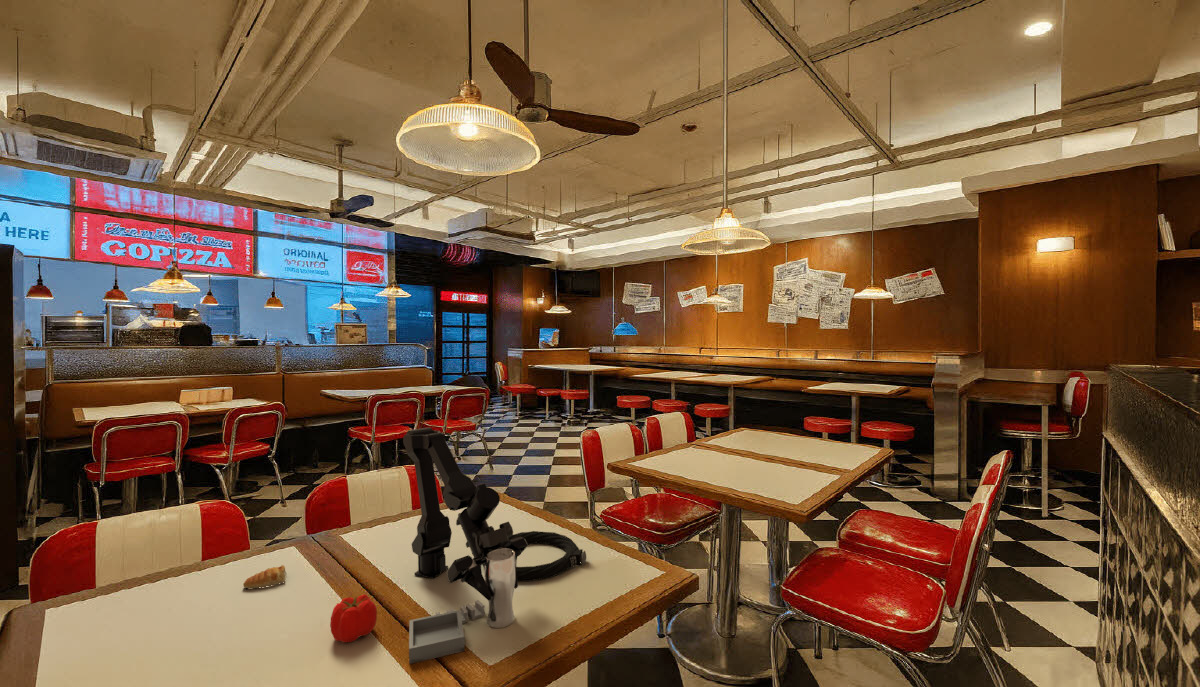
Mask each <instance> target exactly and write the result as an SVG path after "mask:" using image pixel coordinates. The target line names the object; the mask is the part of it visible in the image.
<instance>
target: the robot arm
mask: <svg viewBox="0 0 1200 687" xmlns="http://www.w3.org/2000/svg"><path fill="white" fill-rule="evenodd" d="M402 443H403V446H404V447H405V451H406V454H407V455H408V457H409V458H410V459H411V460H412V461H413V463H414V470H415V475H416V477H415V478H416V484H417V491H418V498H419V504H420V512H421V517H420V518H419V521H418V524H417V525H416V526H417V527H416V530H417V532H416V533H417V534H416V535H415V538H414V539H413V541H412V543H411V550H412V553H414V554H415V555H417V565H418V567H417V571H415V572H414V576H418V577H423V578H430V579H436V578H437V577H438V576H439V575H441V574H442V573H443V572H444V571H446V570H447V572H446V576H447V579H448V582H449V583H450V584H453V583H455V582H457V581H460V583H466V584H467V585H469V586H470V587H471V588H473V589H475V591H477V592H478V593H479V594H481V596H483V597H484V598H485V599H486V600H487V602H488V601H489V600H491V598H492V597H491V594H490V591H489V589H488V586H487V584H486V582H485V577H484V575H483V573H482V572H483V570H482V566H483V564H485V555H486V554H487V553H488V552H489V551H491V550H494V549H499V547H501V546H502V544H503V543H502V542H506V541H509V542H508V543H507V544H506V545H505V547H504V548H508V549H511V550H513V551H514V552H515V562H516V564H517V560H518V557H519V556H520V555H522V553H523V552H524V551H525V550H526V549H527V547H528V546H529V545H528V544H527V542H526V540H525V539H524V538H523V537H518V538H515V539H512V540H509V539H508V536H510V535H514V529H513V526H512V525H511V523H510V521H509V520H508V521H506V522H502V523H499V528H498V529H495V528H494V526H493V525H490V526H489V524H488V522H487V520H488V519H489V518H490V517H491V515H492V514H493V513H494V511H495V509H497V507H498V505H499V504H500V501H501V498H500V494H499V493H498V491H496V490H495V489H493V488H492V487H488V486H487V485H486V483H484V482H483V483H481V484H477V485H476V484H475V483H474V481H473V479H471V477H469V476H468V475H466V474H464V473H463V472H462V471H461V469H460V466H459V465H458V462H457V461H456V458H455V457H454V455H453V453H452V451H451V449H450V447H449V445H448V442H447V437H446V434H445V433H443V432H441V431H440V430H434V429H433V428H432V427H430V426H429V427H423V428H422V427H421V428H416V429H409V430H407V431H406V434H404V435H403V438H402ZM434 466H435V468H436V469H437V471H438V474H439V475H440V478H441V480H442V482H443V485H444V487H443V491H442V494H443V498H444V503H445V505H446V507H447V508H448V510H450V511H452V512H453V511H454V512H455V511H458V510H462V509H463V510H462V511H461V512H458V514H457V519H456V521H455V525H456V526H461V529H462V531H463V534H464V537H465V538H466V539H465V540H466V542H465V547H466V548H470V551H471V554H472V556H473V558H472V556H470V555H469V554H468V555H465V556H463V557H460V558H457V559H454V560H453V562H452V564H451V565H450V566H448V565H446V563H447V562H446V560H447V558H446V554H445V549H446V548H449V547H450V544H451V538H452V533H453V531H452V528H451V525H450V518H449V517H448V516H447V515H445V514H444V513H442V511H441V506H440V500H439V495H438V493H439V492H438V488H437V481H436V474H435V468H434ZM518 587H519V581H518V579H517V568H516V580H515V588H514V590H515V589H518Z"/></svg>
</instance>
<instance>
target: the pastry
mask: <svg viewBox="0 0 1200 687" xmlns="http://www.w3.org/2000/svg"><path fill="white" fill-rule="evenodd" d="M285 580H286V581H287V571H286V567H285V565H280V566H276V567H274V566H273V567H271V568H270V567H269V568H266V569H265V570H263V571H260V572H259V573H256V574H254V575H251V576H250V577H247V578H246V580H244V582H243V588H244V587H245V588H244V589H246V588H259V587H261V589H263V588H262V587H266V586H271V585H276V584H279V583H283V582H284V583H285V582H286V581H285ZM284 583H283V584H284ZM279 585H280V584H279ZM276 586H277V585H276ZM271 587H272V586H271ZM266 588H267V587H266Z"/></svg>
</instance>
